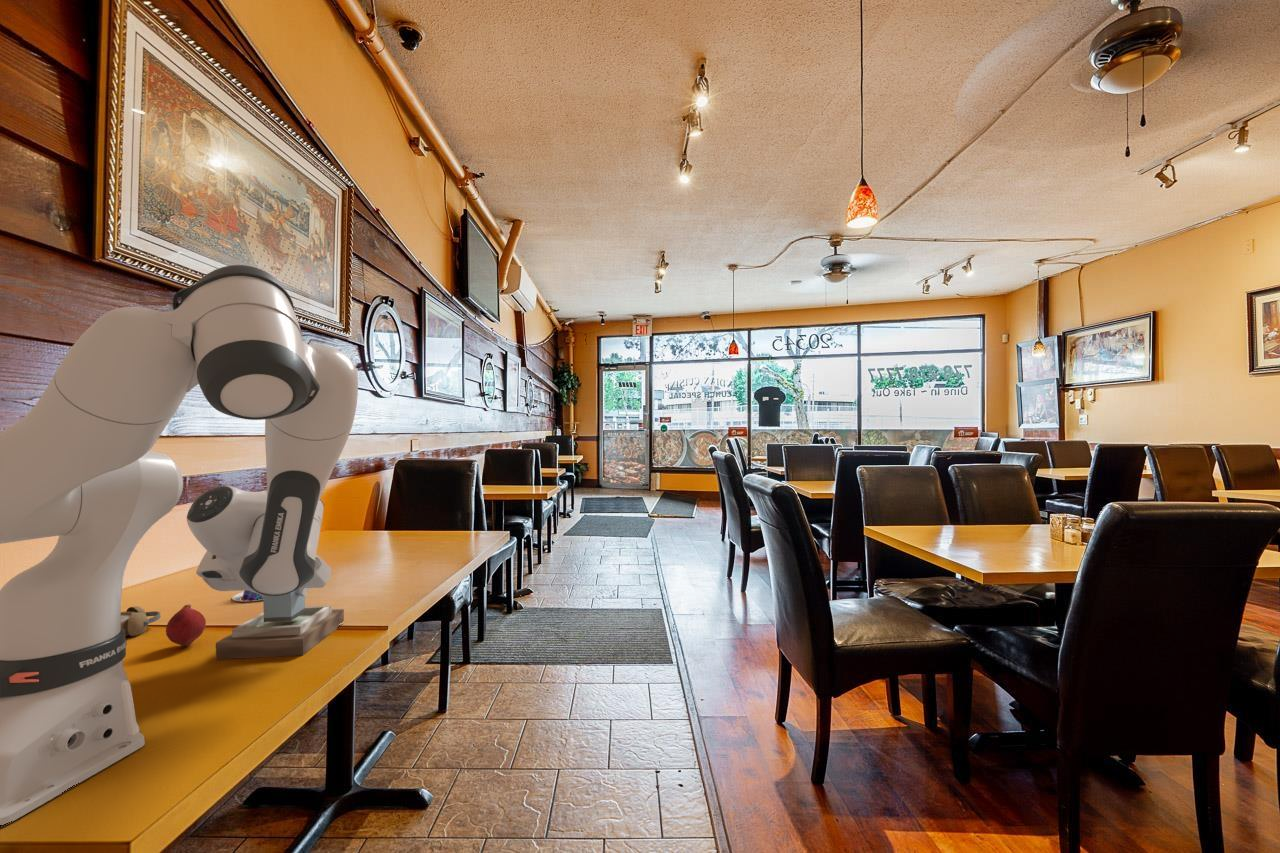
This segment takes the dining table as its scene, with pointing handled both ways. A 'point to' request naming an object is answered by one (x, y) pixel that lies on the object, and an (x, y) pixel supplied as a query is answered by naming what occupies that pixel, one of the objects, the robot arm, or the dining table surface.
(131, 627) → the alarm clock
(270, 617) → the light blue-grey block
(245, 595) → the purple and white hat
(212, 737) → the dining table surface
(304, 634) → the tray
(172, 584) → the dining table surface
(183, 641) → the onion
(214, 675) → the dining table surface
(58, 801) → the dining table surface
